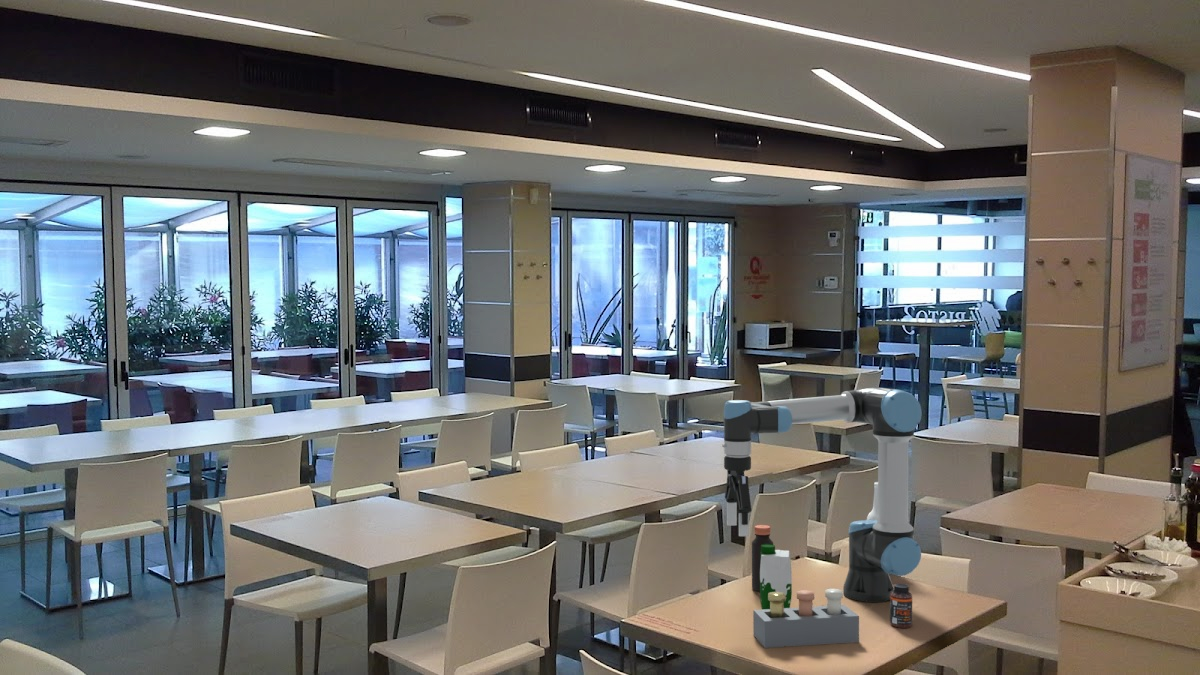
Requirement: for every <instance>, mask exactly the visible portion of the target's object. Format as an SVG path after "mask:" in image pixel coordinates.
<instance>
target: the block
mask: <svg viewBox="0 0 1200 675" xmlns="http://www.w3.org/2000/svg"><path fill="white" fill-rule="evenodd" d="M752 615H753V622H752V623H753V625H752V626H753V627H752V628H753V631H752V632H753V634H752V635H753V637H754V638H755V637H756V638H757V639H756V638H755V639H756V640H757V641H758V642H759V643H760V644H761V645H762V647H763V648H765V649H769V647H770V648H782V647H783V648H785V647H784V646H786V647H800V646H801V647H803V646H814V645H815V646H816V645H817V646H818V645H832V644H833V645H834V644H846V643H847V644H848V643H849V644H850V643H859V642H860V615H858V614H857V613H856V612H855V611H853V610H852V609H851V608H849V607H848V606H847V605H845V604H841V614H836V615H827V605H822V606H821V605H819V606H818V605H817V606H812V616H802V617H799V606H798V607H790V608H784V618H770V609H763V610H762V609H753V614H752Z"/></svg>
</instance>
